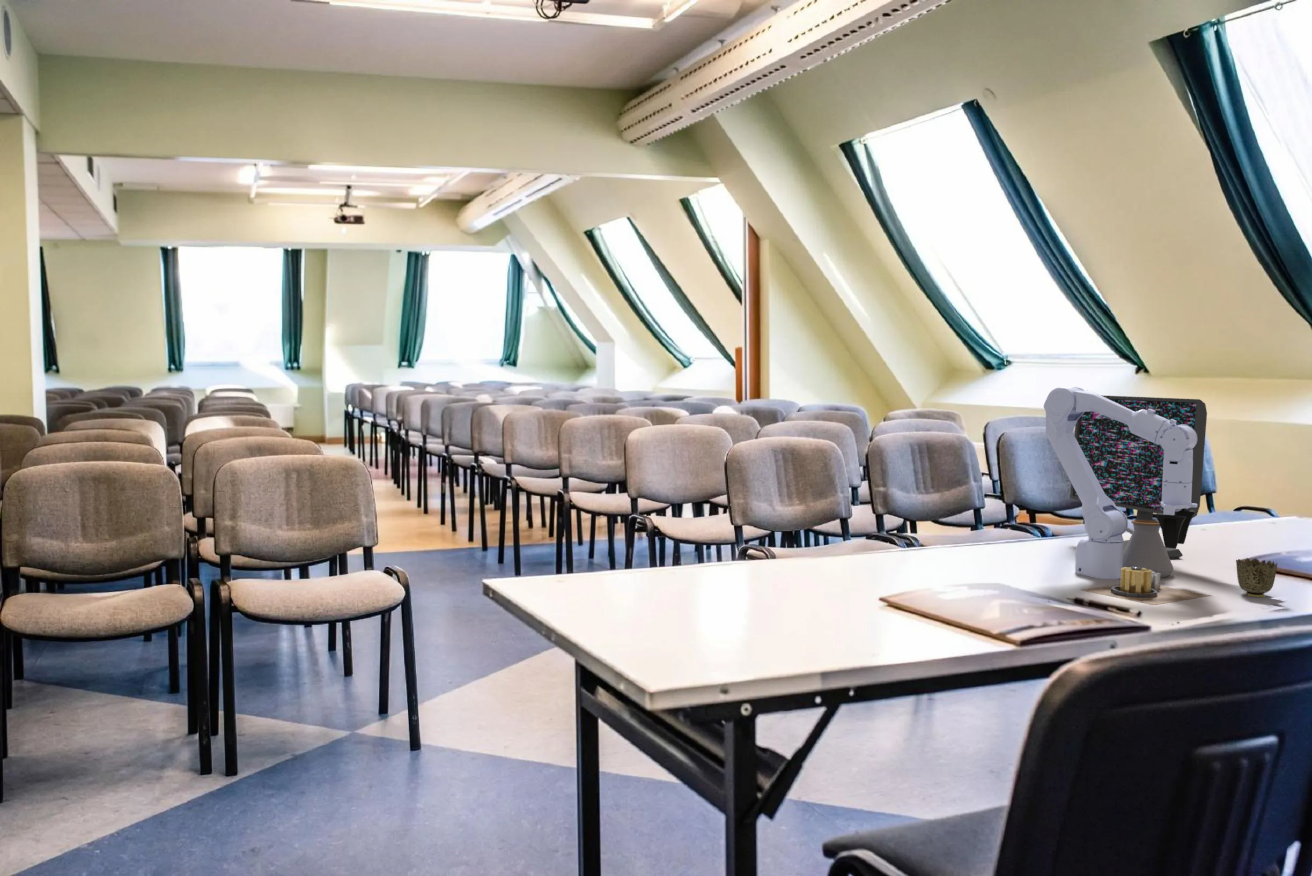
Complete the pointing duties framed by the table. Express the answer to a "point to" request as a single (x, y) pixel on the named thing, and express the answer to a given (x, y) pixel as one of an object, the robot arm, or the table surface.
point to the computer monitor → (1138, 455)
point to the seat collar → (1135, 595)
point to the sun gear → (1155, 580)
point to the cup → (1256, 576)
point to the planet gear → (1135, 580)
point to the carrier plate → (1162, 597)
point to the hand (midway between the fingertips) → (1174, 545)
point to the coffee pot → (1147, 548)
